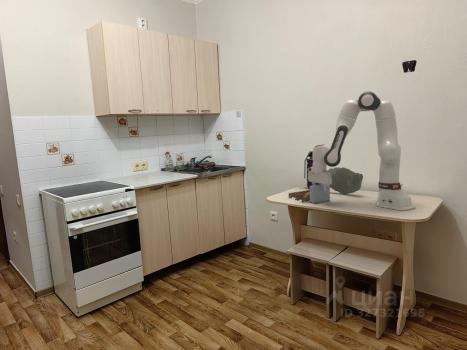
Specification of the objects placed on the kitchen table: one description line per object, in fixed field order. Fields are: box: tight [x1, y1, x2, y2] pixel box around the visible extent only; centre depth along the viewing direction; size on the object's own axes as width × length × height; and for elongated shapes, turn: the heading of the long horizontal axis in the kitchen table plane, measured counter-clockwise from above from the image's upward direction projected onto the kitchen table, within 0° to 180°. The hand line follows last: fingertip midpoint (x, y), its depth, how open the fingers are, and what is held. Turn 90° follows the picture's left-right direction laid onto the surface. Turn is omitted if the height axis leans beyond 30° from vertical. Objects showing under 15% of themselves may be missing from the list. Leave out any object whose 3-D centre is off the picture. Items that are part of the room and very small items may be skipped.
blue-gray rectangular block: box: [309, 184, 331, 204], centre depth 219 cm, size 4×14×11 cm, turn 115°
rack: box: [288, 189, 310, 203], centre depth 232 cm, size 17×20×4 cm
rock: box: [328, 166, 364, 195], centre depth 235 cm, size 27×6×20 cm, turn 45°
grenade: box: [303, 150, 320, 190], centre depth 264 cm, size 14×12×30 cm
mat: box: [308, 199, 331, 205], centre depth 220 cm, size 7×13×1 cm, turn 115°
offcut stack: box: [302, 192, 310, 198], centre depth 228 cm, size 4×10×4 cm, turn 115°
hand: (319, 189), depth 219 cm, fingers open, 8 cm apart
